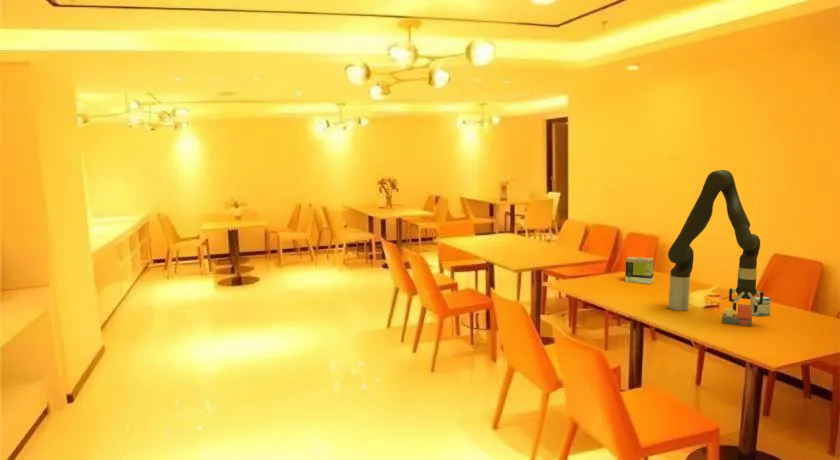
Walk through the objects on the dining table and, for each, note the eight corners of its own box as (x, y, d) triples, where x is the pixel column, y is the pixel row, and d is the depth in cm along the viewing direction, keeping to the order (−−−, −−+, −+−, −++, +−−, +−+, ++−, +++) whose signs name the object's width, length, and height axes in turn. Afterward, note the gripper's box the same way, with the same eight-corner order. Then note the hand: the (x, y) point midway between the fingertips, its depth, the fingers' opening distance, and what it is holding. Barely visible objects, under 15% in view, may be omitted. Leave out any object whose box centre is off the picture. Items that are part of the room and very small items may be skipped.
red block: (737, 318, 262) (738, 306, 261) (737, 315, 266) (738, 303, 266) (750, 319, 259) (751, 307, 258) (750, 316, 264) (751, 305, 263)
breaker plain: (725, 318, 265) (726, 309, 265) (725, 317, 268) (726, 308, 267) (732, 319, 264) (733, 310, 263) (732, 318, 266) (733, 308, 266)
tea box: (653, 281, 351) (654, 258, 349) (650, 284, 343) (651, 260, 341) (628, 278, 359) (629, 256, 357) (624, 281, 351) (625, 258, 349)
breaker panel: (721, 323, 264) (722, 317, 263) (722, 318, 271) (722, 312, 271) (751, 326, 258) (751, 320, 258) (750, 322, 265) (751, 315, 265)
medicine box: (756, 316, 274) (758, 299, 273) (749, 314, 278) (750, 297, 277) (769, 315, 276) (771, 298, 275) (762, 312, 280) (763, 295, 279)
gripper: (729, 277, 260) (727, 311, 262) (765, 280, 253) (763, 315, 256) (729, 274, 267) (727, 308, 269) (764, 277, 260) (762, 311, 262)
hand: (744, 311), depth 262 cm, fingers open, 7 cm apart
